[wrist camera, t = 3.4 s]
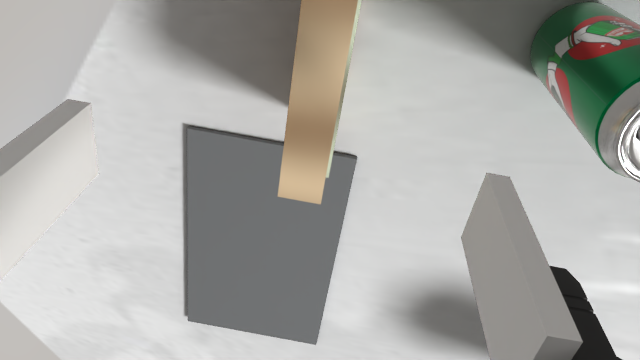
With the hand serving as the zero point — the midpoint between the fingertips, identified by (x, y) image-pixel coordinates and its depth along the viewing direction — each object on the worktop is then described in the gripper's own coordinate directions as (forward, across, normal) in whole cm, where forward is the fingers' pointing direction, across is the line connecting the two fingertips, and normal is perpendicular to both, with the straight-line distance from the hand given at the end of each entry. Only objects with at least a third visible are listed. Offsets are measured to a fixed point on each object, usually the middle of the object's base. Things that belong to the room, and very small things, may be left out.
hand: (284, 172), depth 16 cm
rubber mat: (+16, -2, -18) cm, 24 cm away
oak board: (+16, 0, 0) cm, 16 cm away
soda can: (+16, +14, +2) cm, 22 cm away
